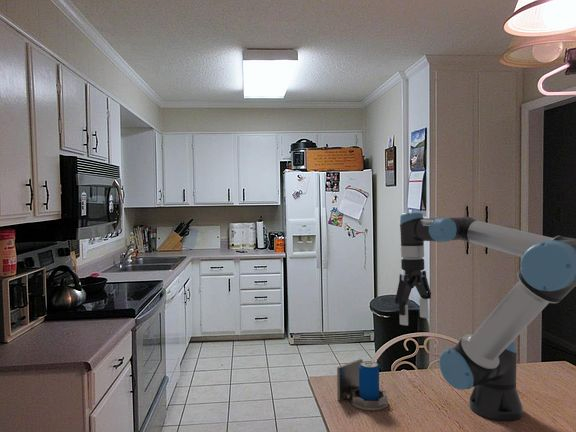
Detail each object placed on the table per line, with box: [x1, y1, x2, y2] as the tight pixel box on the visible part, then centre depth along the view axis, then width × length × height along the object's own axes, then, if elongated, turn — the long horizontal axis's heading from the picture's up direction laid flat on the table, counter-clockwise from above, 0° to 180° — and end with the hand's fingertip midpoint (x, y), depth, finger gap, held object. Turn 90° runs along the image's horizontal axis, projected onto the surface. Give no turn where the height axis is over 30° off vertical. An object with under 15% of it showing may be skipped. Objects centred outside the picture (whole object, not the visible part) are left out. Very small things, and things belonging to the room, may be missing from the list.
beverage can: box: [359, 360, 380, 400], centre depth 148 cm, size 6×6×12 cm
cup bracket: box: [336, 358, 389, 412], centre depth 148 cm, size 14×12×11 cm
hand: (414, 321), depth 152 cm, fingers open, 13 cm apart
